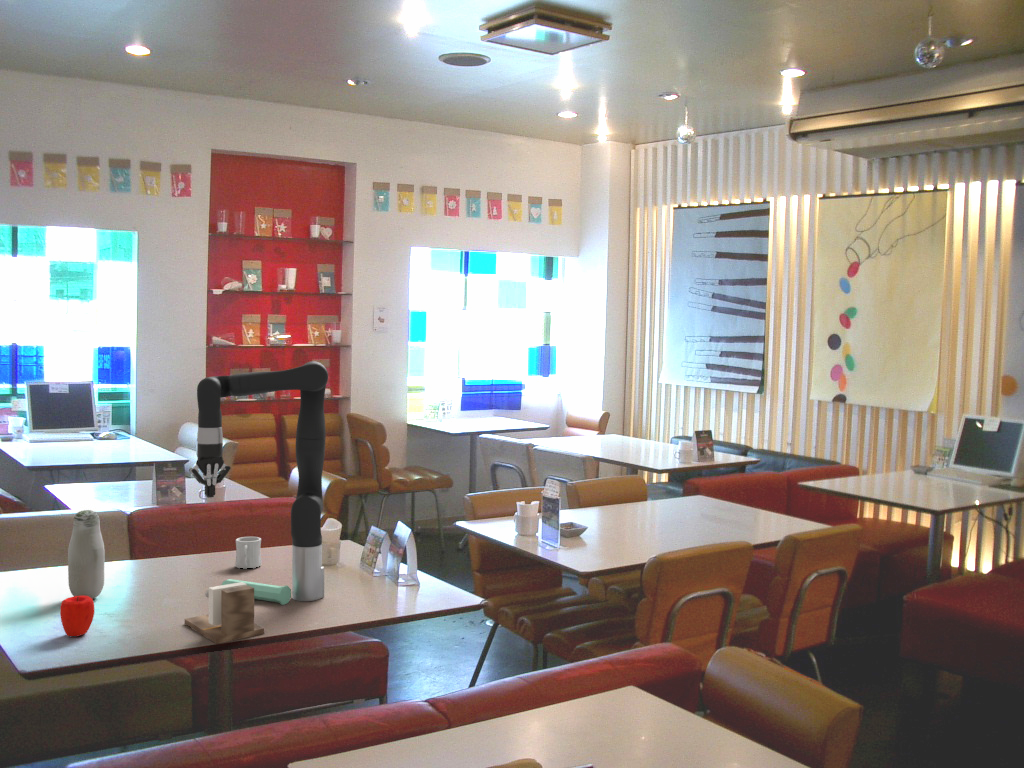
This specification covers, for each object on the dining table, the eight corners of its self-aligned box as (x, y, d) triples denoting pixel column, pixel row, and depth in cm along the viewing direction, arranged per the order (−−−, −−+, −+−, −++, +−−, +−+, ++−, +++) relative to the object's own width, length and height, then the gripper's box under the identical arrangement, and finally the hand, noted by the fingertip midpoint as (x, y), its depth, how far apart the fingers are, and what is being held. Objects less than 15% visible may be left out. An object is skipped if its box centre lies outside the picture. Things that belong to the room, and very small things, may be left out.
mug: (237, 563, 350) (237, 536, 349) (263, 563, 351) (263, 536, 350) (231, 572, 338) (231, 544, 337) (258, 571, 339) (258, 543, 338)
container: (215, 593, 308) (277, 603, 297) (220, 575, 309) (282, 584, 298) (227, 596, 313) (288, 606, 302) (232, 578, 314) (293, 587, 303)
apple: (88, 640, 263) (87, 601, 262) (55, 640, 262) (54, 601, 262) (99, 630, 272) (99, 592, 271) (67, 630, 271) (66, 592, 270)
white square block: (242, 616, 277) (242, 581, 276) (246, 618, 275) (246, 584, 274) (208, 622, 270) (208, 587, 270) (213, 625, 268) (213, 589, 267)
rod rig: (230, 615, 288) (230, 570, 287) (264, 633, 271) (264, 586, 270) (184, 624, 278) (184, 577, 278) (216, 643, 262) (216, 594, 261)
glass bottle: (61, 601, 299) (60, 511, 297) (87, 593, 309) (86, 506, 307) (86, 605, 295) (85, 514, 294) (111, 596, 305) (110, 509, 303)
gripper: (194, 444, 291) (194, 501, 292) (235, 441, 300) (235, 496, 301) (184, 441, 297) (184, 497, 298) (225, 439, 305) (225, 493, 306)
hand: (210, 497), depth 299 cm, fingers closed
